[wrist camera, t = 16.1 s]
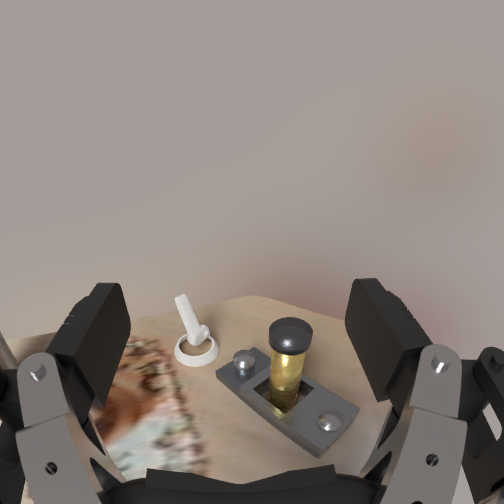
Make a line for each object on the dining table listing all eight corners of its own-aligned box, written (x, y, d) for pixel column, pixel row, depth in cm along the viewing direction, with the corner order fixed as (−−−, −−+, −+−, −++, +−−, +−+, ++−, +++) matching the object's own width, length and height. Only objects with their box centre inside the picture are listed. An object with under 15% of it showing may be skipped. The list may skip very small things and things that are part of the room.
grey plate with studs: (216, 377, 41) (214, 362, 39) (254, 353, 46) (254, 338, 44) (318, 458, 28) (323, 448, 26) (353, 420, 32) (360, 407, 31)
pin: (258, 401, 37) (260, 330, 31) (281, 383, 40) (289, 312, 34) (282, 420, 33) (293, 352, 27) (305, 401, 36) (321, 330, 30)
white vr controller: (176, 297, 51) (201, 286, 48) (203, 355, 51) (230, 349, 47) (146, 309, 45) (170, 299, 41) (177, 373, 44) (203, 369, 41)
